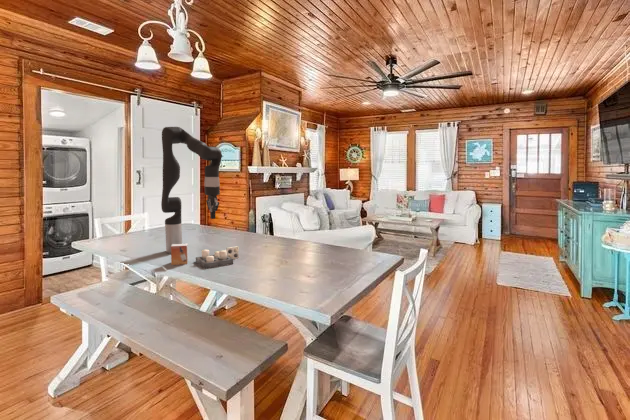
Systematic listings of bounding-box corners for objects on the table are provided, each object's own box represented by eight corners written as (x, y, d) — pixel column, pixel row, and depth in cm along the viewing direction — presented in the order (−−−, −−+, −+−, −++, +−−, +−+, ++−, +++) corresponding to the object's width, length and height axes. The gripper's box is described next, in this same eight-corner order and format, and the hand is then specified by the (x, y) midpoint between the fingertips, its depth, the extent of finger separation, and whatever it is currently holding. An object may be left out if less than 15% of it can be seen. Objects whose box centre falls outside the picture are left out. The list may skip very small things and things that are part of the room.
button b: (218, 259, 182) (218, 251, 181) (225, 257, 184) (224, 250, 184) (221, 260, 179) (220, 252, 178) (227, 259, 181) (227, 251, 181)
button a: (205, 264, 178) (205, 256, 177) (212, 263, 180) (212, 255, 180) (208, 266, 175) (207, 258, 174) (215, 265, 177) (215, 256, 177)
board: (195, 262, 184) (195, 257, 184) (222, 258, 193) (222, 253, 193) (205, 269, 172) (205, 263, 172) (233, 264, 181) (233, 259, 181)
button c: (200, 258, 183) (200, 250, 183) (207, 257, 186) (207, 249, 185) (203, 259, 180) (202, 251, 180) (210, 258, 182) (210, 250, 182)
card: (225, 259, 191) (224, 247, 190) (236, 257, 195) (236, 245, 195) (227, 260, 189) (227, 248, 188) (239, 258, 193) (238, 246, 192)
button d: (213, 259, 188) (213, 251, 187) (220, 258, 190) (220, 250, 189) (216, 261, 185) (215, 253, 184) (222, 260, 187) (222, 252, 186)
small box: (171, 266, 178) (170, 246, 176) (172, 263, 183) (171, 243, 182) (187, 265, 180) (186, 245, 179) (188, 262, 185) (187, 243, 184)
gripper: (200, 185, 180) (201, 217, 182) (209, 186, 170) (210, 220, 172) (214, 184, 185) (215, 216, 187) (224, 186, 174) (224, 219, 176)
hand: (213, 218), depth 179 cm, fingers closed
